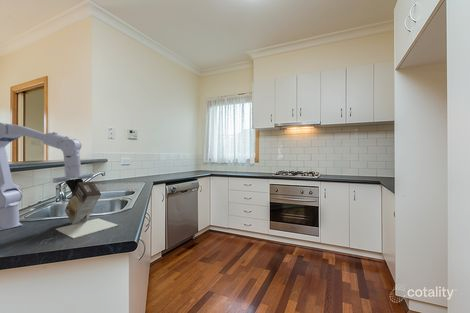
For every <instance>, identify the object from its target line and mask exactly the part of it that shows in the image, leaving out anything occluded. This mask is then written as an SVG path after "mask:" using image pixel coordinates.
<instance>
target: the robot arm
mask: <svg viewBox="0 0 470 313" xmlns="http://www.w3.org/2000/svg"><path fill="white" fill-rule="evenodd" d="M21 137H28V138H31V139H36V140H39V141H42V143H43V144H44V145H46V146H49V147H51V148H55V149H57V150H60V151H62V153H63V162H64V172H65V176H61V177H52V183H53V184H55V183H56V184H57V183H62V182H65V185H66V186H67V187H68V188H69V190H70V192H71V195H72V194H73V192H74V190H75V188H76V186H77V183H78V182H84V180H86V179H87V180H88V179H93V178H94V176H93V175H94V174H93V173H85V174H82V166H81V156H80V155H81V154H80V150H82V143H81V141H79V140H78V139H75V138H71V139H70V137H69V136H63V135H60V134H58V132H55V131H53V132H46V133H44V132H42V131H39V130H37V129H33V128H30V127H27V126H24V125H19V124H13V123H12V124H11V123H3V122H0V231H3V230H8V229H13V228H17V227H21V226H23V223H21V222H20V211H19V210H20V208H19V204H20V201H22V199H23V196H24V195H23V192H22V191H21V190H20V188H19V185H18V184H16V183H14V182H13V178H12V172H11V168H10V165H9V159H8V156H7V150H6V146H7V145H9V144H10V143H12V142H14V141H16V140H18V139H20V138H21Z"/></svg>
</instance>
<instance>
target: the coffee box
mask: <svg viewBox="0 0 470 313" xmlns="http://www.w3.org/2000/svg"><path fill="white" fill-rule="evenodd" d="M101 195H102V193H101V191H100V190H99V189H98V187H97V186H96V184H95V182H93V181H83V182H78V183H77V186H76V188H75V190H74V192H73V194H72V193H71V197H70V198H69V201H68V203H67V205H66V207H65V209H64V212H65V214H66V215H67V217H68V219H69V221H70V222H71V225H73V224H77V223H81V222H85V221H89V218H90V216H91V215H92V213H93V210H94V209H95V207H96V205H97V203H98V201H99V199H100V197H101Z"/></svg>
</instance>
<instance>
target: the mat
mask: <svg viewBox="0 0 470 313" xmlns="http://www.w3.org/2000/svg"><path fill="white" fill-rule="evenodd" d="M118 226H119V224H117V223H113V222H111V221H107V220H104V219H101V218H94V219H90V220H89V219H88V220H87V221H85V222H81V223H76V224H70V225H66V226H61V227H58V228H55V230H56V231H58V232H59V233H61V234H63V235H65V236H68V237H70V239H71V238H72V239H78V238H81V237H84V236H89V235H91V234H92V235H93V234H95V233H98V232H101V231H106V230H108V229H112V228H115V227H118Z"/></svg>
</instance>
